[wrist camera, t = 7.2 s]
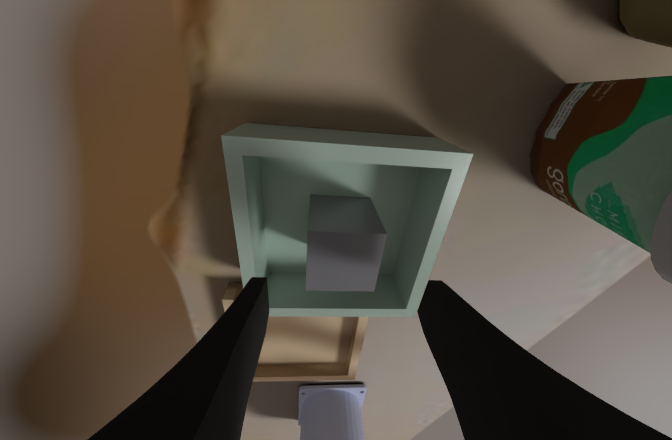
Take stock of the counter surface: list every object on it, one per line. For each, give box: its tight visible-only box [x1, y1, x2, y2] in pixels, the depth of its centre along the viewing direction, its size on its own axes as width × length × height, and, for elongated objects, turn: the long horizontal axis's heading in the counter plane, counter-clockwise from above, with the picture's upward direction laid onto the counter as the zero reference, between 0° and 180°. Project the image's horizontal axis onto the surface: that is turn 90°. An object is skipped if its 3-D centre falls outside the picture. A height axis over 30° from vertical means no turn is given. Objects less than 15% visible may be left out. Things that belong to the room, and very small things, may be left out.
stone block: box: [306, 194, 387, 292], centre depth 15 cm, size 4×4×4 cm
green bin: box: [221, 123, 473, 317], centre depth 15 cm, size 12×12×4 cm
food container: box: [530, 76, 672, 283], centre depth 12 cm, size 12×6×10 cm, turn 59°
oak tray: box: [222, 283, 369, 382], centre depth 22 cm, size 12×12×2 cm
